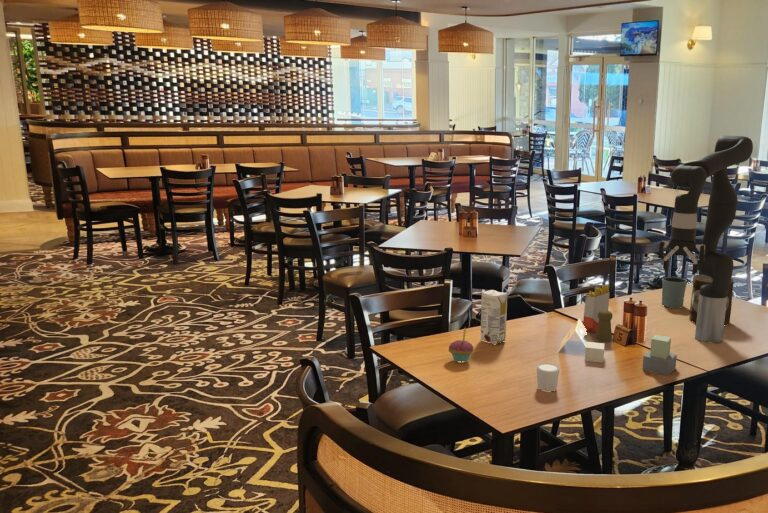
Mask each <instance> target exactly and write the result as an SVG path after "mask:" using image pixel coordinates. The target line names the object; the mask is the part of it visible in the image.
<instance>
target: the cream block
mask: <svg viewBox="0 0 768 513" xmlns="http://www.w3.org/2000/svg"><path fill="white" fill-rule="evenodd" d="M584 354H585V355H584V361H585V362H593V363H601V364H603V363H604V358H605V342H603V343H601V342H593V341H586V343H585V351H584Z"/></svg>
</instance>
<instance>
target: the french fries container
mask: <svg viewBox="0 0 768 513" xmlns="http://www.w3.org/2000/svg"><path fill="white" fill-rule="evenodd" d="M588 291H589V294H588V295H586V298H585V301H584V309H583V310H584V311H583V322H582V326H583V325H584V326H585V327H584V326H583V327H584V329H585V328H586V329H587V330H586V329H585V330H586V331H589V332H591V333H592V332H593V333H594V334H595V333H597V328H598V323H599V318H598V313H599V312H600V311H603V310H605V311H609V306H610V304H609V303H610V285H602V286H601V287H600V286H598V287H594V292H593V290H588Z"/></svg>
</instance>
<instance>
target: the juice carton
mask: <svg viewBox="0 0 768 513" xmlns="http://www.w3.org/2000/svg"><path fill="white" fill-rule="evenodd" d="M480 309H481V310H480V341H481V340H484V341H487V342H490V343H492V344H497V345H499V344H498V343H500V342H503V341H505V342H506V337H507V312H508V311H507V310H508V293H507V292H503V291H502V292H501V291H497V290H494V289H489V290H486V291H484V292H482V293H481V306H480ZM503 343H504V342H503ZM492 344H491V345H492ZM500 344H501V343H500Z"/></svg>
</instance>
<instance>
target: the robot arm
mask: <svg viewBox="0 0 768 513" xmlns="http://www.w3.org/2000/svg"><path fill="white" fill-rule="evenodd" d="M753 149H754V142H753V140H752V139H751V138H750V137H748V136H745V135H744V136H743V135H721V136H719V137H718V139H717V141H716V143H715V147H714V152H711V153H707V154H704V155H703V156H700V157H699V158H697V159H696V160H693V161H689V162H684V163H682V164H679V165H677V166H675V168H674V169H673V170H672V172H671V175H670V179H671V183H672V184H673V185H674V186H675V187H680V188H689V190H688V192H687V193H681V194H677V195H676V196H675V199H674V208H673V215H672V221H671V231H670V241H666V240H662V241H660V243H659V250H658V255H657V258H658V259H661V260H662V261H663V263H662V264H663V265H662V269H663V271H664V272H666V273H668V272H669V265H670V260H669V259H670V258H671V257H672V256H673V255H675V256H677V257H678V256H682V257H689V259H690V260H691V261H692V262H693V263H692V271H691V275H692V276H696V274H697V273H698V272H699V275H702V274H703V275H706V276H710V277H713V281H712V284H709V285H703V286H701V287H700V292H699V303H698V312H697V322H696V323H695V334H694V338H695V340H697V339H698V340H697V341H700V340H701V341H700V342H703V341H705V342H704V343H708V342H719V343H721V342H720V341H722V342H723V337H724V329H725V328H724V327H725V326H724V320H725V311H726V301H727V293H728V291H729V288H730V284H731V279H733V278H732V277H733V272H734V259H733V258H732V256H731V255H729V254H726V253H721V252H717V250H718V249H717V248H718V244H719V241H720V238H721V237H722V235H724V233H725V232H726V231H727V229H728V228H729V227H730V226H731V224H733V222H734V221H735V218H736V216H737V215H736V214H737V208H738V201H739V200H738V196H737V193H736V190H735V189H734V187H733V185H732V184H731V181H730V178H729V175H728V168H729V167H731V166H735V165H737V164H742V163H745V162H746V161H748V160H749V159H750V157H751V156H752V154H753V152H754V150H753ZM711 176H712V181H711V188H710V194H709V198H708V205H707V211H706V212H707V213H706V221H705V228H704V231H703V236H702V242H701V244H697V243H696V237H697V236H696V235H697V227H698V226H697V225H698V205H699V200H700V197H701V194H702V192H703V189H704V186H705V184H706V181H707V179H708V178H709V177H711ZM667 246H668V247H669V248H670V250H671V251H669V252H668V253H667V254H666V255H665V254H664V253H665V249H666V248H667ZM696 249H697V251H698V252H699V254H698V255H697V256H698V257H697V256H696V254H695V252H694V251H695V250H696Z"/></svg>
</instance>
